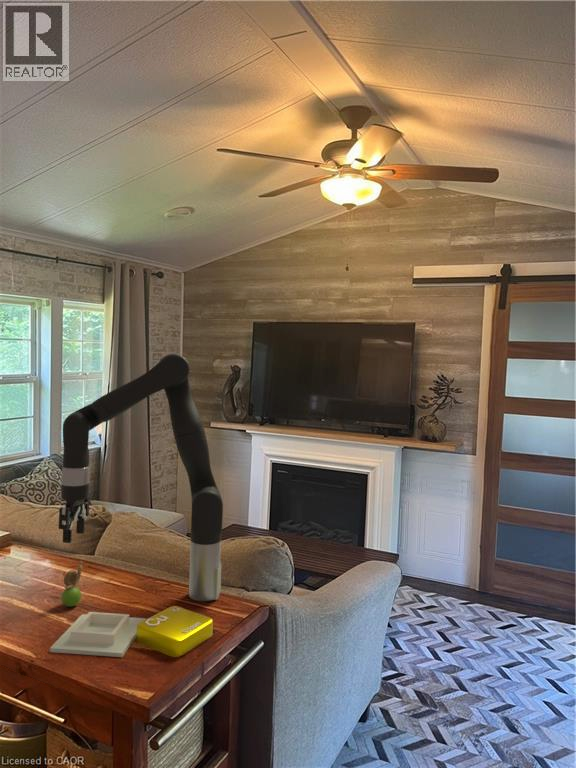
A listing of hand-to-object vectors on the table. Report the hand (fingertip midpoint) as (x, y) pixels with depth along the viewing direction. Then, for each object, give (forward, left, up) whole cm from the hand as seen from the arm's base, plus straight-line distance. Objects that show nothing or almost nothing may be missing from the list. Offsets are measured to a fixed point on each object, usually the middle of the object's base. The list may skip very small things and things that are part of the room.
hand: (73, 537), depth 157 cm
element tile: (-34, +14, -20) cm, 42 cm away
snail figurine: (0, 0, -20) cm, 20 cm away
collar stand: (-15, +16, -20) cm, 30 cm away
